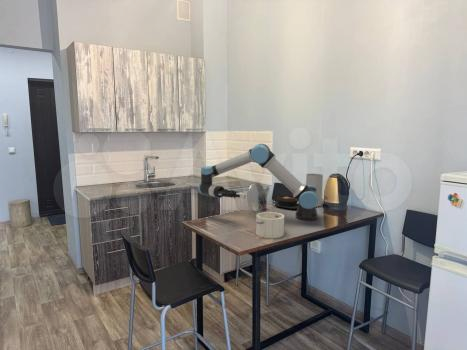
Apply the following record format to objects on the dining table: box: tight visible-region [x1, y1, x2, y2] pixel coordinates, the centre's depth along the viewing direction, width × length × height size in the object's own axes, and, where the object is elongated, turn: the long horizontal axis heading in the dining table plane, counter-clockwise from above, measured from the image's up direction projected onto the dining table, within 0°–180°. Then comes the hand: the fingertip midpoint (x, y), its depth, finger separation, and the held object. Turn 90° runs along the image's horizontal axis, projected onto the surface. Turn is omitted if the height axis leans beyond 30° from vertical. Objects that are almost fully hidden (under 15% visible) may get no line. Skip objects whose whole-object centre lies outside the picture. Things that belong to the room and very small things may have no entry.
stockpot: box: [254, 211, 285, 239], centre depth 198 cm, size 17×23×11 cm
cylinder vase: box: [305, 173, 324, 208], centre depth 265 cm, size 12×12×25 cm
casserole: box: [272, 194, 299, 210], centre depth 262 cm, size 25×19×8 cm
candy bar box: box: [262, 187, 268, 212], centre depth 250 cm, size 11×5×16 cm, turn 138°
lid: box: [246, 182, 266, 215], centre depth 202 cm, size 18×17×2 cm
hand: (244, 196), depth 208 cm, fingers closed
